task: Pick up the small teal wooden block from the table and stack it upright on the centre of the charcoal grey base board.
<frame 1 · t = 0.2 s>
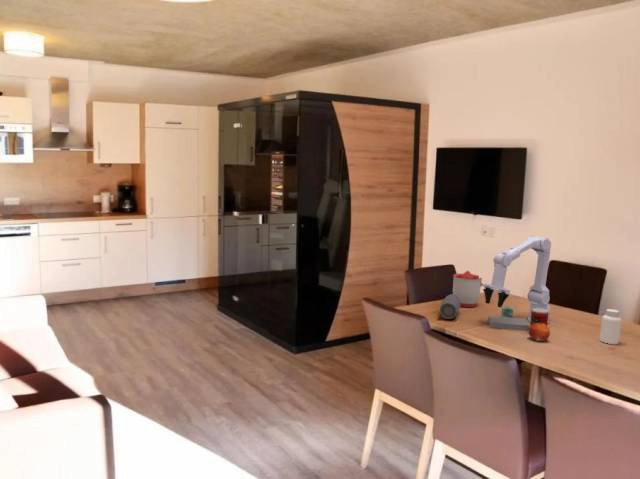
hand: (493, 305, 277), 11 cm above the table, tool pointing down, fingers open, 7 cm apart
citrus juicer: (466, 305, 320), on the table
bluetooth speaker: (449, 316, 295), on the table
tomato: (538, 340, 258), on the table
canned food: (538, 332, 270), on the table
pill bottle: (609, 342, 258), on the table
teal block: (506, 319, 293), on the table
base board: (507, 325, 280), on the table
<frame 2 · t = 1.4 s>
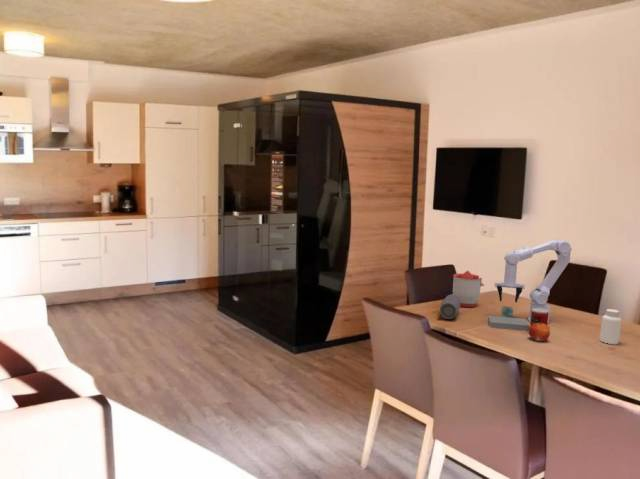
hand: (508, 301, 292), 9 cm above the table, tool pointing down, fingers open, 7 cm apart
nothing on the table moved.
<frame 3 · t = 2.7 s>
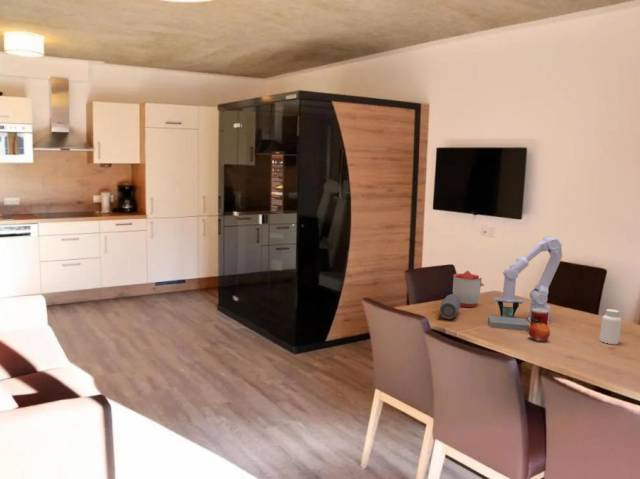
hand: (506, 316, 293), 1 cm above the table, tool pointing down, fingers closed on teal block, 5 cm apart
teal block: (506, 319, 293), on the table, touching gripper
everything else where it was.
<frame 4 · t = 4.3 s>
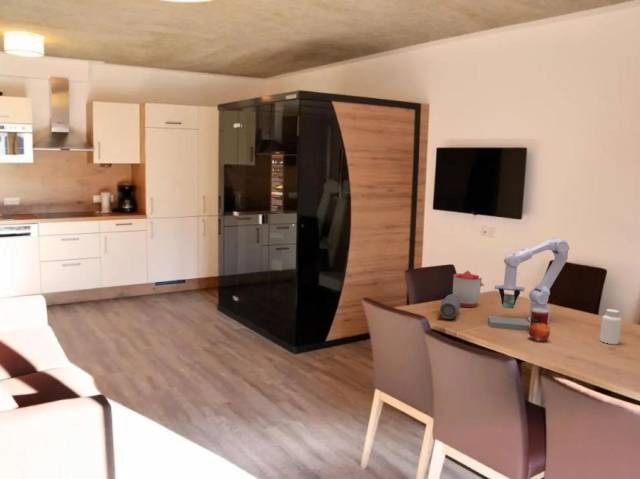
hand: (508, 304, 290), 8 cm above the table, tool pointing down, fingers closed on teal block, 5 cm apart
teal block: (507, 306, 290), point 7 cm above the table, touching gripper
everything else where it was.
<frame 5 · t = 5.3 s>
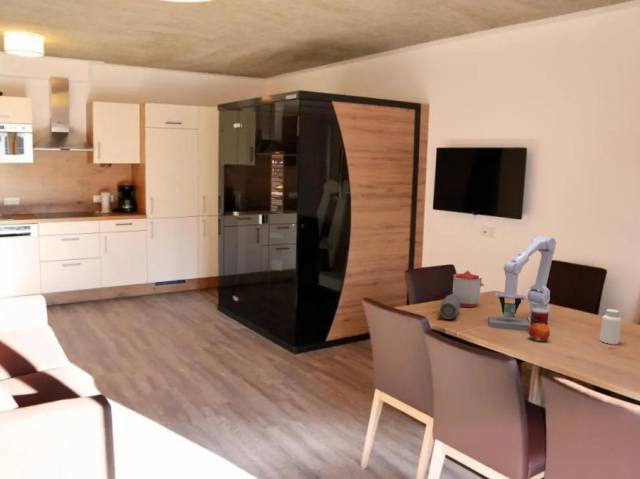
hand: (508, 312, 280), 6 cm above the table, tool pointing down, fingers closed on teal block, 5 cm apart
teal block: (508, 315, 280), point 5 cm above the table, touching gripper
everything else where it was.
when the fingers open (5 cm above the table, at t = 6.0 s): teal block drops 1 cm, resting on base board.
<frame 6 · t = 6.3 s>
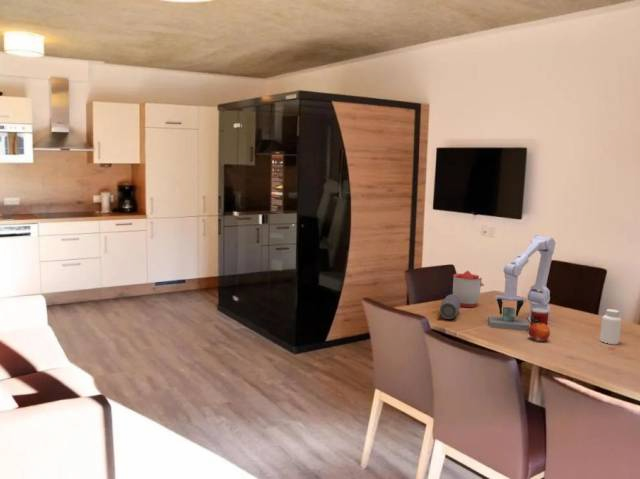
hand: (508, 314, 280), 5 cm above the table, tool pointing down, fingers open, 7 cm apart
teal block: (508, 320, 280), point 2 cm above the table, touching base board
everything else where it was.
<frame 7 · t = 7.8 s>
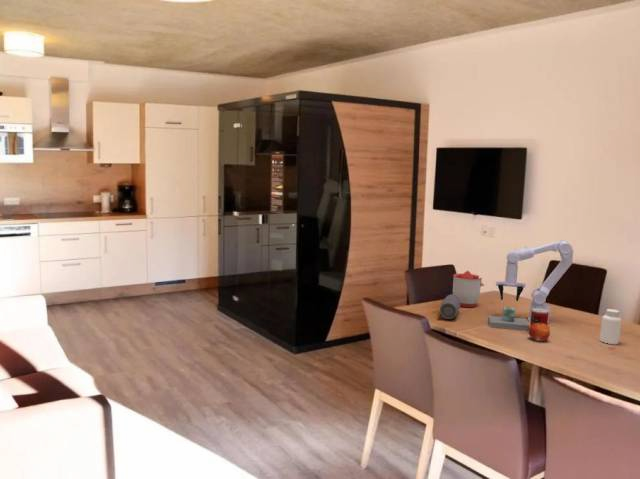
hand: (509, 300, 295), 9 cm above the table, tool pointing down, fingers open, 7 cm apart
nothing on the table moved.
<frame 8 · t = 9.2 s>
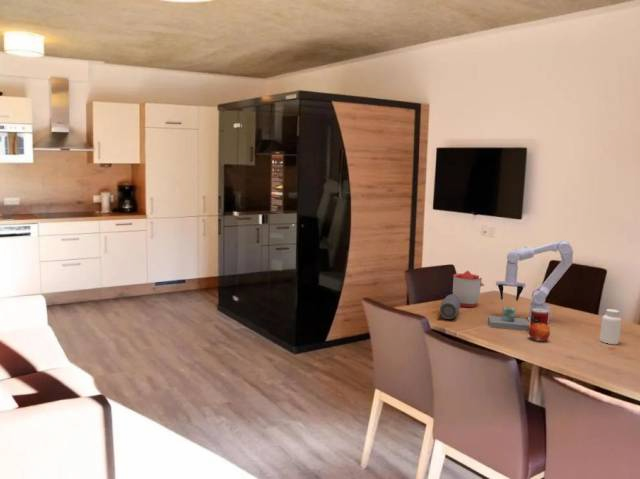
hand: (509, 299, 295), 9 cm above the table, tool pointing down, fingers open, 7 cm apart
nothing on the table moved.
at the end: teal block inside the target area on the base board (0.3 cm from its centre), point 2.5 cm above the base board's base; teal block tilted 0°; the gripper is holding nothing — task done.
